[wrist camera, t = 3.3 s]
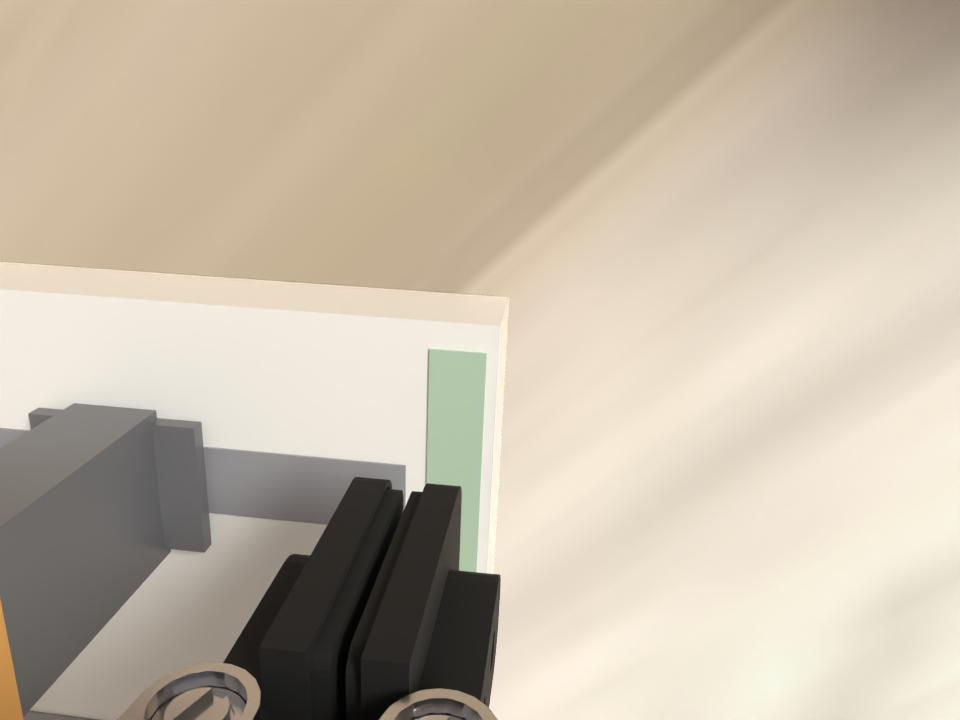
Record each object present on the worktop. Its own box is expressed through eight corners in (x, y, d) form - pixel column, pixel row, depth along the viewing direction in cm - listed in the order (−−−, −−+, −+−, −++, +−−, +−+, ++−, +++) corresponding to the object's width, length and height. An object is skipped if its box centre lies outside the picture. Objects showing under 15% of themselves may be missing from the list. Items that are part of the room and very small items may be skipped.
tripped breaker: (199, 409, 14) (3, 572, 9) (212, 555, 15) (41, 770, 10) (36, 395, 14) (-236, 545, 10) (59, 538, 15) (-177, 740, 11)
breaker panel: (509, 296, 15) (500, 326, 13) (469, 1015, 22) (459, 1103, 20) (-147, 251, 16) (-244, 272, 14) (9, 940, 23) (-42, 1016, 21)
